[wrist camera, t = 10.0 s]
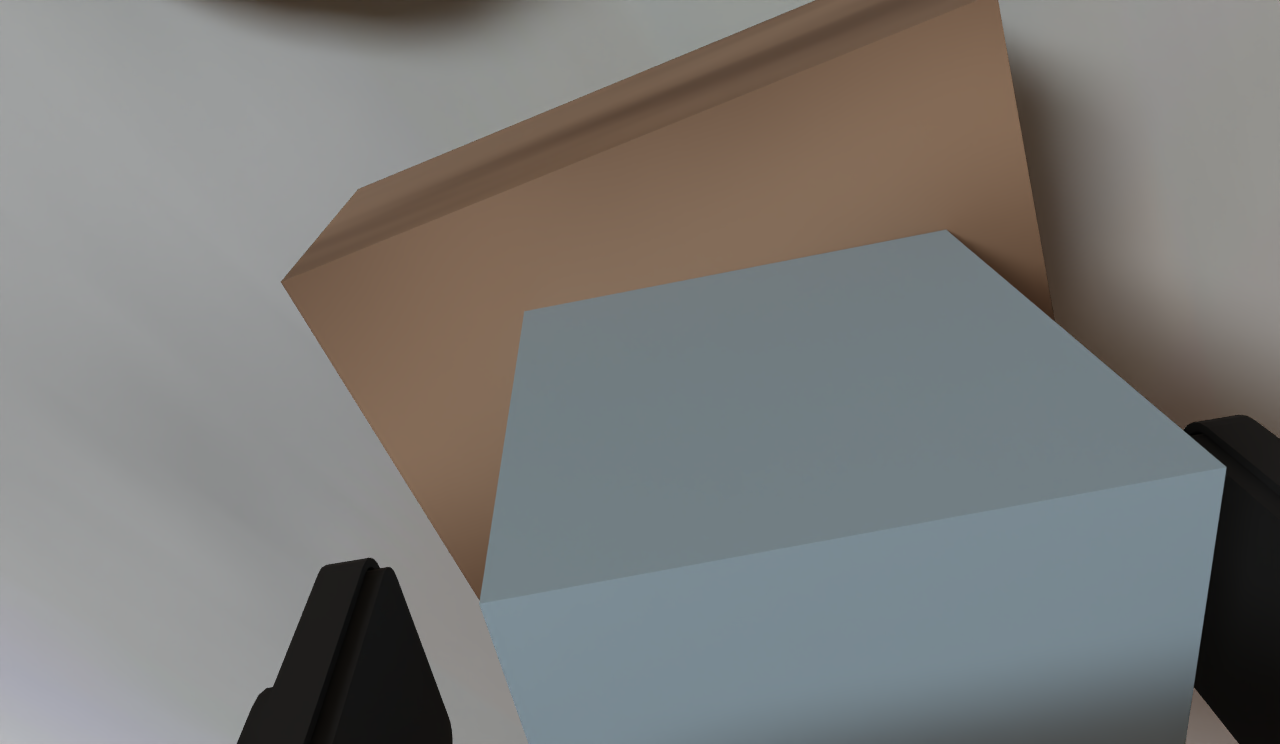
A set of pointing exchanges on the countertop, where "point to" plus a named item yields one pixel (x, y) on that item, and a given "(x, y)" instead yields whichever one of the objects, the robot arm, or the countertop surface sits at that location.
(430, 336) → the walnut block
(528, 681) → the slate cube
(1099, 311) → the countertop surface
